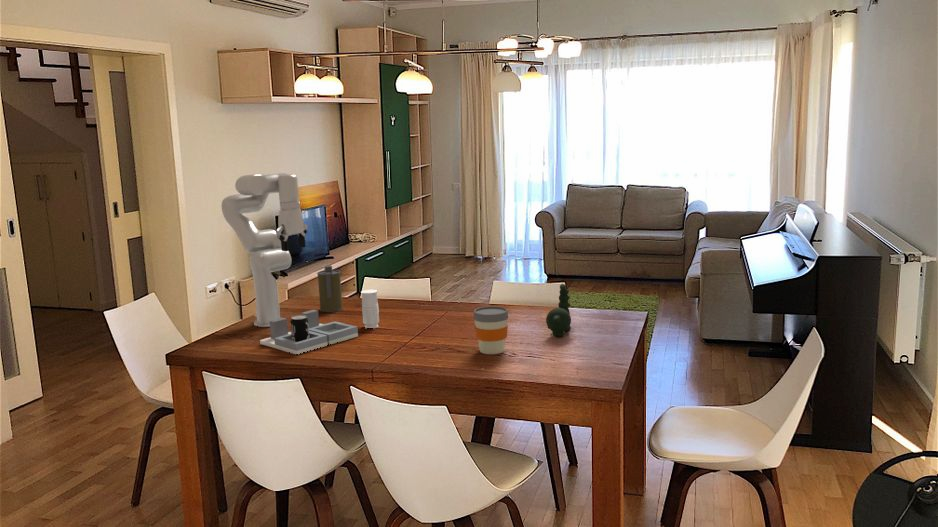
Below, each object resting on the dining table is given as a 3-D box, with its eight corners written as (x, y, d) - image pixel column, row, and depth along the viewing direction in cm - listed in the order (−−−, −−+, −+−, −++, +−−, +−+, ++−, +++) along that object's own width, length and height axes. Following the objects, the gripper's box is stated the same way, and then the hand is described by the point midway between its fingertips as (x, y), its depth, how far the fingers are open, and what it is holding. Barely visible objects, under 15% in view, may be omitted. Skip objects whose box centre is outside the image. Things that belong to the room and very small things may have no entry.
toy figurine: (553, 328, 311) (543, 340, 287) (552, 282, 309) (542, 290, 285) (576, 329, 308) (568, 341, 284) (576, 282, 306) (568, 290, 282)
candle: (369, 330, 312) (366, 294, 310) (359, 326, 318) (357, 291, 315) (383, 326, 317) (381, 291, 314) (373, 323, 322) (371, 288, 319)
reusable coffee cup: (475, 345, 285) (473, 306, 283) (508, 344, 285) (507, 305, 282) (474, 356, 273) (472, 315, 270) (509, 355, 273) (508, 314, 270)
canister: (320, 307, 354) (317, 264, 350) (343, 305, 355) (340, 263, 351) (318, 313, 343) (315, 269, 339) (342, 311, 344) (339, 268, 340)
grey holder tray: (260, 343, 298) (258, 322, 296) (290, 335, 308) (288, 314, 307) (297, 354, 282) (295, 332, 281) (327, 345, 292) (325, 323, 291)
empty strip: (292, 334, 309) (290, 314, 307) (320, 327, 319) (319, 307, 317) (329, 344, 293) (328, 323, 291) (358, 336, 303) (356, 315, 302)
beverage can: (306, 350, 288) (303, 319, 286) (289, 349, 289) (287, 319, 287) (312, 345, 294) (310, 314, 292) (296, 344, 296) (294, 314, 293)
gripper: (297, 203, 311) (301, 245, 314) (267, 208, 296) (271, 252, 299) (311, 203, 307) (315, 245, 310) (281, 208, 292) (285, 253, 295)
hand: (293, 249), depth 304 cm, fingers open, 9 cm apart
